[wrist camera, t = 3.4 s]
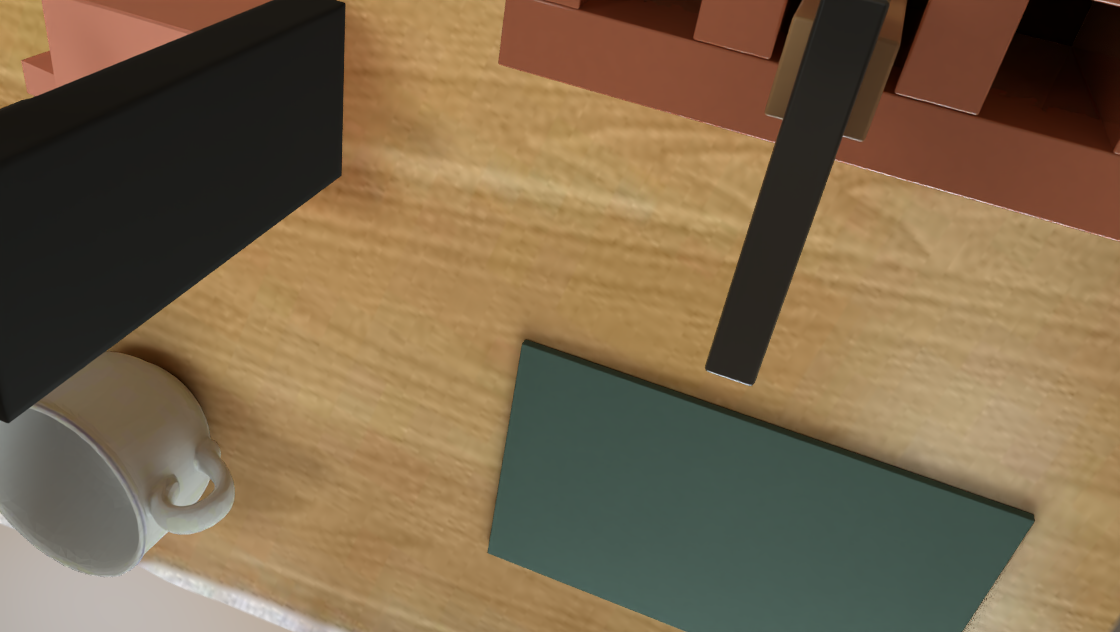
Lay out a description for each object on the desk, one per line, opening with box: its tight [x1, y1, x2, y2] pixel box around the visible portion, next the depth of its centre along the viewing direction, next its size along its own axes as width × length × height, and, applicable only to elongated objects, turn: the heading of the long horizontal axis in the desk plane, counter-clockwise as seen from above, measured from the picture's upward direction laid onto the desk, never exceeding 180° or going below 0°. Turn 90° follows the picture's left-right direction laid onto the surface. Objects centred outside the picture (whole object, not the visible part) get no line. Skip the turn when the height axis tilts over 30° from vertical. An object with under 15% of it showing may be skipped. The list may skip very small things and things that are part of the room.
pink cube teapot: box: [21, 0, 272, 96], centre depth 35 cm, size 8×12×8 cm, turn 81°
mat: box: [488, 340, 1035, 632], centre depth 43 cm, size 22×14×1 cm, turn 81°
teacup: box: [0, 351, 235, 577], centre depth 49 cm, size 14×11×8 cm
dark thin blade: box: [705, 0, 907, 386], centre depth 21 cm, size 2×6×20 cm, turn 171°
